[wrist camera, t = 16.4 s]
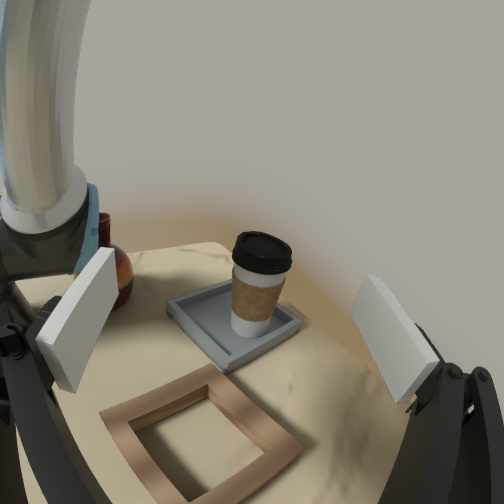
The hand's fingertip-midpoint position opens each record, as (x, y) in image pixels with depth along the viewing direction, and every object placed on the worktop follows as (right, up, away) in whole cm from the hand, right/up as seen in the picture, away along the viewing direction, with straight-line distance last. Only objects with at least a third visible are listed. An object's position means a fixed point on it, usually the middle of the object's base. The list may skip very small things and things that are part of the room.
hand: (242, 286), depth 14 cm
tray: (-3, -10, +32) cm, 34 cm away
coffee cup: (0, -11, +31) cm, 33 cm away
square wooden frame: (-5, -20, +11) cm, 23 cm away
